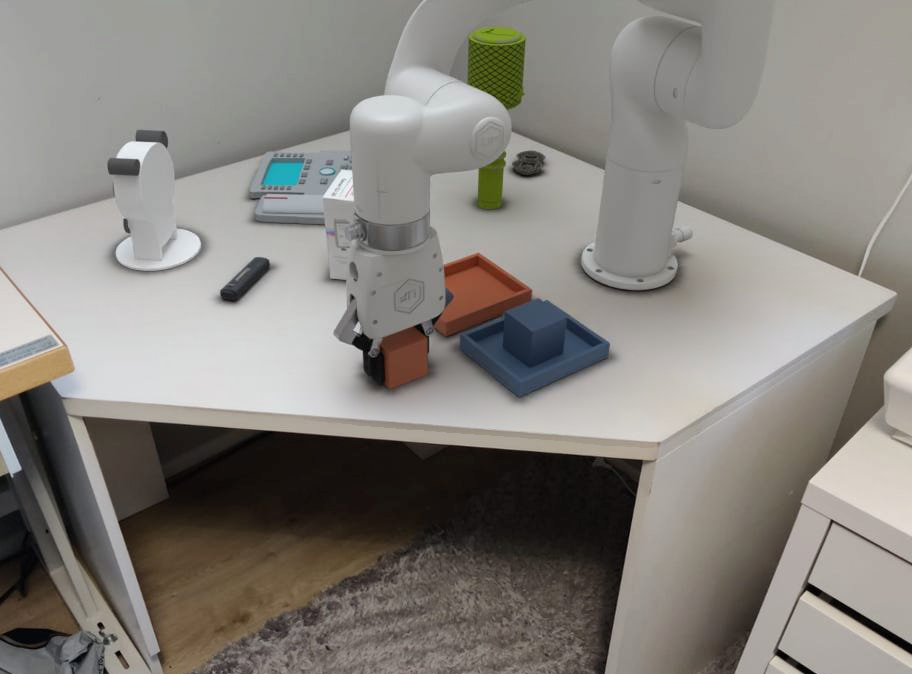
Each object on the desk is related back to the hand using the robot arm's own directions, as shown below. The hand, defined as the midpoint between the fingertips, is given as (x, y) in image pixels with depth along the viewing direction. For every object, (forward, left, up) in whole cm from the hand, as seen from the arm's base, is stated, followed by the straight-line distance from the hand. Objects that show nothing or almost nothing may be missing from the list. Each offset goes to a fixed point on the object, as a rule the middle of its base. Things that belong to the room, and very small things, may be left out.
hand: (396, 367), depth 100 cm
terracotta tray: (-15, -8, 0) cm, 17 cm away
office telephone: (-15, -46, -1) cm, 48 cm away
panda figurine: (+12, -42, -1) cm, 44 cm away
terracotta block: (0, 0, 0) cm, 0 cm away
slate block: (-15, +6, 0) cm, 16 cm away
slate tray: (-15, +6, 0) cm, 16 cm away
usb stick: (+6, -27, -1) cm, 28 cm away
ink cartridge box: (-8, -23, -1) cm, 24 cm away
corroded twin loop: (-47, -34, -1) cm, 58 cm away
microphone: (-34, -27, -1) cm, 43 cm away
